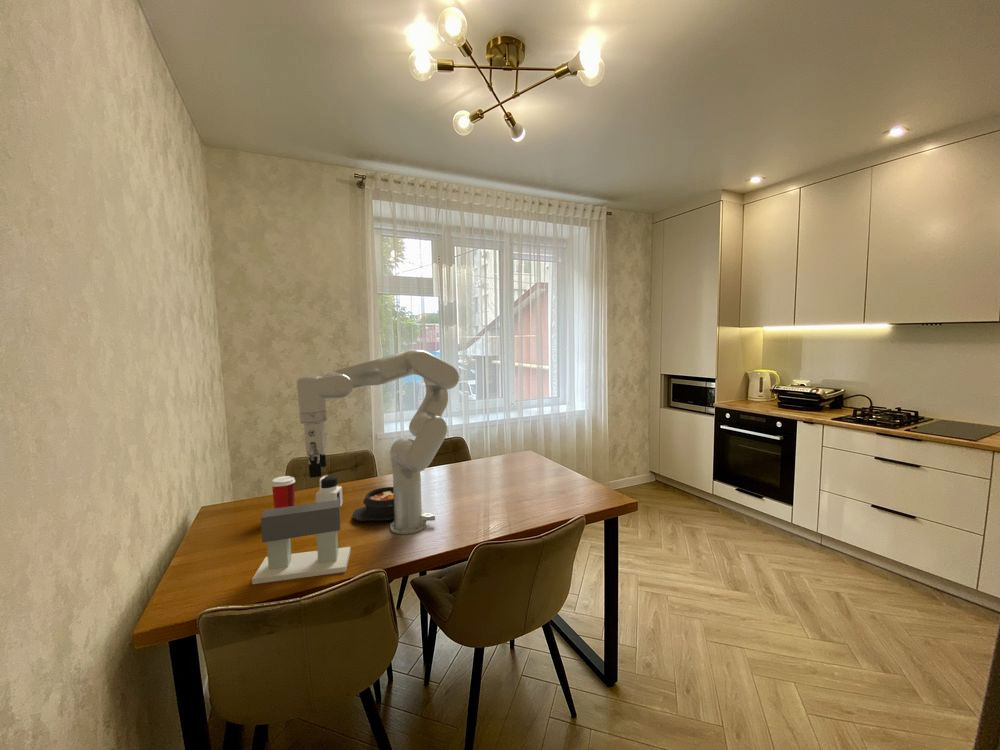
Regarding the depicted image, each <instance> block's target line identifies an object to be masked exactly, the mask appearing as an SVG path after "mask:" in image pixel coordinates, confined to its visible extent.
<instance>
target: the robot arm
mask: <svg viewBox="0 0 1000 750" xmlns="http://www.w3.org/2000/svg"><path fill="white" fill-rule="evenodd" d="M412 375H416V376H419V377H422V379H423V382H424V386H425V396H424V399H423V401H422V403H420V406H419V407H418V409H417V411H416V412H415V414H414V415H413V417H412V419H411V421H410V422H409V425H408V430H409V432H410V434H411V435H412V436H413V437H414V439H411V438H407V437H402V438H398V439H397V440H396V441H394V442H393V443H392V445H391V447H390V451H389V457H390V464H391V469H392V470H391V471H392V484H393V485H392V487H393V495H394V519H393V521H392V522H391V523H390V525H389V529H390V531H391V533H394V534H396V535H397V534H398V535H412V534H416V533H419V532H421V531H423V530H424V529H425V528H426V527H427V522H429V521H431V522H432V521H436V515H435V514H432V513H430V512H428V513H424V512H423V509H422V477H421V472H423V471H425V470H426V469H427V468H428V467H429V465H430V464H431V463H432V461H433V459H434V458H435V456H436V455H437V453H438V451H439V449H440V448H441V446H442V444H443V442H444V440H445V438H446V436H447V432H448V428H447V427H448V424H447V422H446V420H445V419H444V418H443V414H444V413H445V411H446V408H447V406H448V403H449V393H448V392H449V391H448V390H451V389H453V388H455V387H456V386H457V384H458V383H459V381H460V380H459V379H460V374H459V372H458V370H457V369H456V367H454V366H453V365H451V364H450V363H448V362H446V361H444V360H442V359H440V358H439V357H437V356H436V355H433V354H431V353H430V352H428V351H426V350H423V349H408V350H405V351H404V350H403V351H401V352H397V353H394V354H392V355H388V356H384V357H381V358H377V359H372V360H370V361H365V362H363V363H358V364H354V365H350V366H347V367H346V366H345V367H343V368H339V369H336V370H332V371H329V372H326V373H325V374H323V375H322V376H320V375H309V376H308V375H307V376H302V377H299V378H298V379H296V390H297V400H298V401H297V402H298V415H299V423H300V424H302V425H304V441H305V452H306V456H307V457H308V473H309V478H312V479H313V478H321V477H322V468H324V467H326V466H327V460H326V458H327V457H326V452H327V451H328V449H329V444H328V443H329V442H328V436H327V428H326V422H327V421H328V413H327V402H326V399H343V398H346V397H348V396H349V395H350V394H351V393H352V392H353V389H356V388H360V387H366V386H380V385H385V384H388V383H391V382H394V381H396V380H399V379H402V378H406V377H409V376H412Z"/></svg>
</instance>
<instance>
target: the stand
mask: <svg viewBox="0 0 1000 750" xmlns="http://www.w3.org/2000/svg"><path fill="white" fill-rule="evenodd" d="M338 535H339V534H338V531H333V532H326V533H320V534H316V548H317V550H313V551H305V552H295V553H292V547H291V546H292V545H291V538H289V539H282V540H276V541H270V542H266V546H267V547H266V548H267V556H265V557H264V559H263V561H262V563H261V564H260V565H259V567H258V568H257V570H256V572H255V574H254V575H253V576H252V578H251V584H252V585H257V584H264V583H265V584H266V583H271V582H280V581H288V580H295V579H301V578H302V579H303V578H310V577H317V576H325V575H333V574H339V573H345V572H347V569H348V568H347V567H348V564H349V560H350V555H351V552H352V551H351V546H347V547H345V546H344V547H339V539H338Z"/></svg>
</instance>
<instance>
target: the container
mask: <svg viewBox="0 0 1000 750" xmlns="http://www.w3.org/2000/svg"><path fill="white" fill-rule="evenodd" d="M314 495H315V503H320V502H327V501H335V500H339V506H340V508H341V507H342V506H343V505H342V504H344V502H343V486H341V485H340V486H339V485H338V476H337V475H333V474H328V475H324V476H321V477H319V489H318V491H317V492H316V493H315V494H314Z"/></svg>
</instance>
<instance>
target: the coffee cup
mask: <svg viewBox="0 0 1000 750" xmlns="http://www.w3.org/2000/svg"><path fill="white" fill-rule="evenodd" d="M295 483H296V479H295V477H294V476H292V475H291V476H290V475H284V476H283V475H282V476H278V477H275V478H273V479H272V480H271V483H270V487H271V489H272V496H273V507H274V509H275V508H283V507H290V506H295V497H296V496H295V493H296V492H295V491H296V490H295V489H296V488H295V485H296V484H295Z"/></svg>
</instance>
